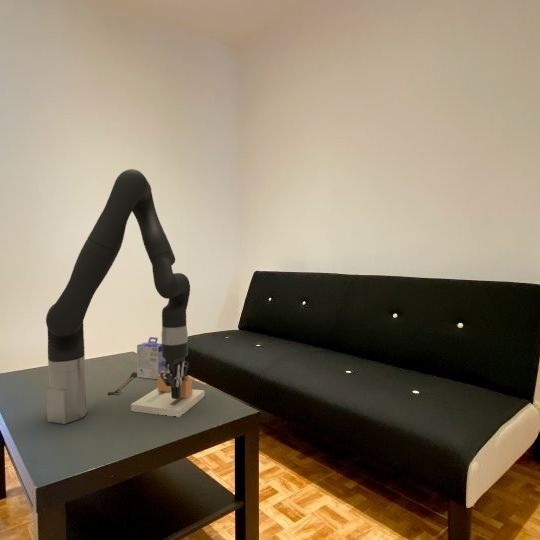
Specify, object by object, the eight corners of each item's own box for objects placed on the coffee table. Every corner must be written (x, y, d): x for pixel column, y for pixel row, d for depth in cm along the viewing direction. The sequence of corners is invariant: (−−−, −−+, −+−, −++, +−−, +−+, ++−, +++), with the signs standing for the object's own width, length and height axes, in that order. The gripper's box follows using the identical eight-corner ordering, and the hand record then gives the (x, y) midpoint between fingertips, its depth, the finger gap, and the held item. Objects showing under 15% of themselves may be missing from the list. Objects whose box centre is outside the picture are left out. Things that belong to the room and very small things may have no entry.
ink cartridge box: (167, 375, 148) (167, 337, 147) (159, 380, 143) (158, 340, 142) (145, 372, 151) (144, 335, 150) (136, 377, 146) (135, 339, 145)
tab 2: (186, 398, 119) (185, 379, 119) (174, 397, 120) (174, 378, 120) (192, 393, 123) (192, 375, 123) (181, 392, 124) (180, 374, 124)
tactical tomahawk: (126, 398, 128) (126, 395, 128) (106, 396, 129) (106, 393, 129) (149, 376, 149) (149, 373, 149) (132, 374, 150) (132, 371, 149)
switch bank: (179, 417, 111) (179, 410, 111) (131, 411, 116) (130, 404, 116) (204, 396, 127) (204, 390, 126) (160, 391, 131) (160, 385, 131)
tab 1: (168, 392, 125) (168, 374, 124) (157, 390, 126) (157, 373, 125) (175, 387, 128) (174, 370, 128) (164, 386, 129) (163, 369, 129)
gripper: (174, 347, 109) (175, 408, 110) (196, 336, 121) (197, 391, 122) (150, 345, 111) (152, 405, 112) (175, 335, 123) (176, 389, 124)
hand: (176, 397), depth 117 cm, fingers closed
